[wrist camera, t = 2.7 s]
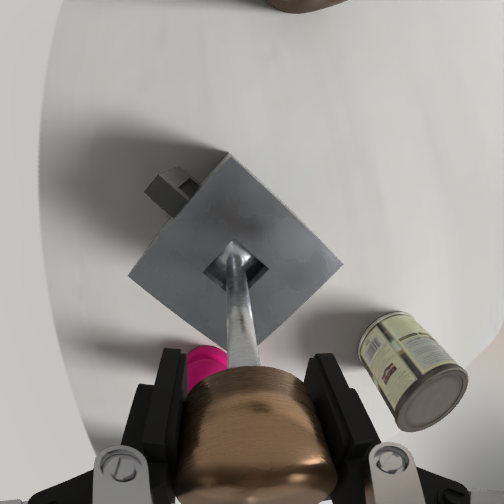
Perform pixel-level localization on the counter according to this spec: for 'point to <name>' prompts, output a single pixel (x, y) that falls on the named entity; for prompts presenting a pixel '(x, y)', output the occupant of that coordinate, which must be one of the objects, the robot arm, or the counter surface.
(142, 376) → the counter surface
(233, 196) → the press
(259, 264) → the plunger
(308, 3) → the plant pot
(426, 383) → the coffee can
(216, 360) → the pepper mill
